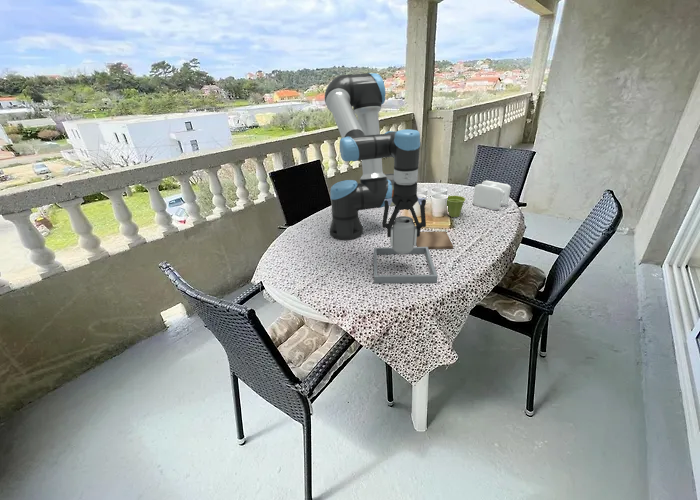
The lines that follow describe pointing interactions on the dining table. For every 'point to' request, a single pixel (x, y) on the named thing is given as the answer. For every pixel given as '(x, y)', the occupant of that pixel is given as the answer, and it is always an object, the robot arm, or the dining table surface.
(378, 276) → the gray square frame
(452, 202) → the plant pot
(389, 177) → the reusable coffee cup
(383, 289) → the dining table surface
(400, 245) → the can
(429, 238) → the pad
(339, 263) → the dining table surface
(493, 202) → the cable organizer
